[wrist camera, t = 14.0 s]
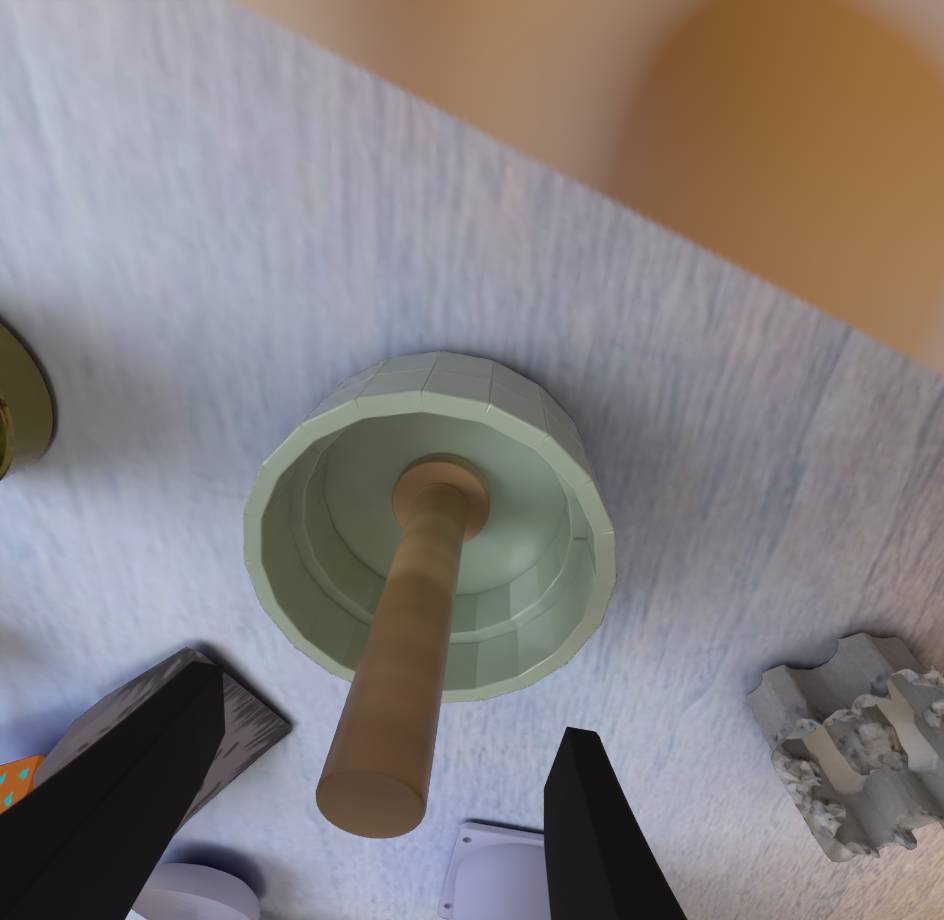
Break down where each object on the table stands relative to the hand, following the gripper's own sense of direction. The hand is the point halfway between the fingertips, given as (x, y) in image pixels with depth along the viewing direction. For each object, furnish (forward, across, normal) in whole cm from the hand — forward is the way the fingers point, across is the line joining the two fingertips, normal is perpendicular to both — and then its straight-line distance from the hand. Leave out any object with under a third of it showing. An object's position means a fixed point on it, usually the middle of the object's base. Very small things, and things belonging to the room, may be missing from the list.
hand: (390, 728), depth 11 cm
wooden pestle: (+10, 0, 0) cm, 10 cm away
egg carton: (+10, -20, +8) cm, 24 cm away
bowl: (+10, 0, 0) cm, 10 cm away
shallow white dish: (+10, +11, +30) cm, 34 cm away
